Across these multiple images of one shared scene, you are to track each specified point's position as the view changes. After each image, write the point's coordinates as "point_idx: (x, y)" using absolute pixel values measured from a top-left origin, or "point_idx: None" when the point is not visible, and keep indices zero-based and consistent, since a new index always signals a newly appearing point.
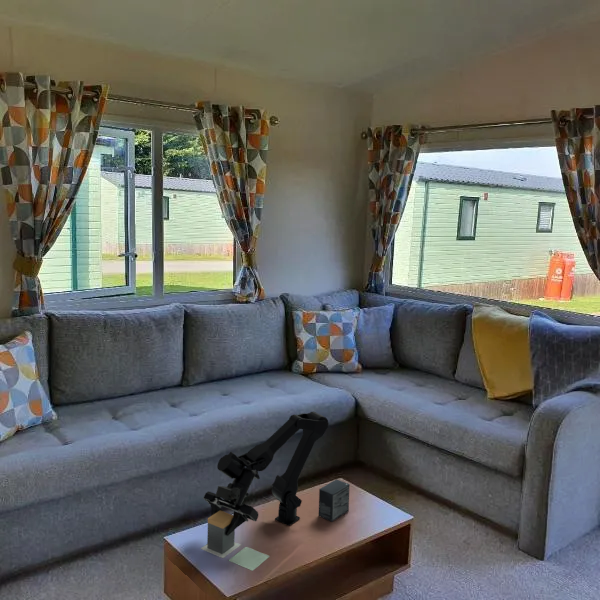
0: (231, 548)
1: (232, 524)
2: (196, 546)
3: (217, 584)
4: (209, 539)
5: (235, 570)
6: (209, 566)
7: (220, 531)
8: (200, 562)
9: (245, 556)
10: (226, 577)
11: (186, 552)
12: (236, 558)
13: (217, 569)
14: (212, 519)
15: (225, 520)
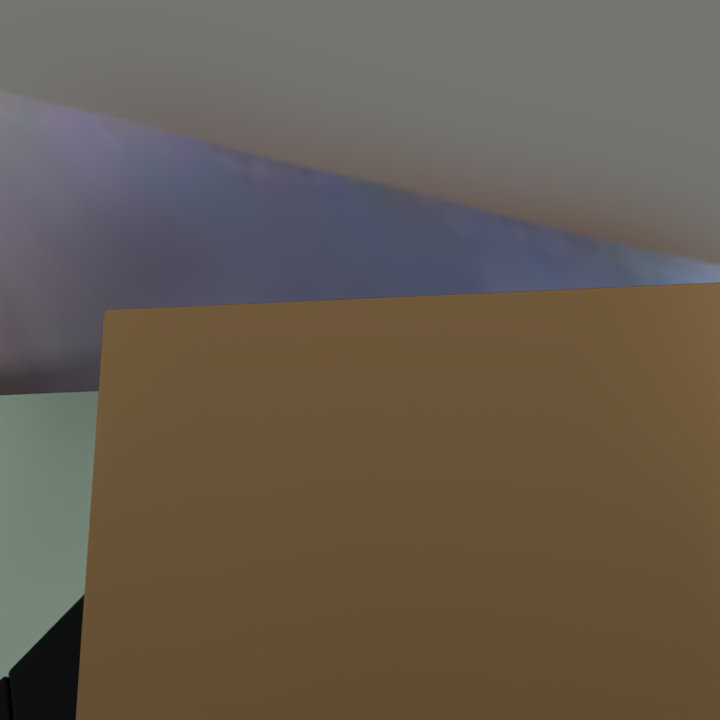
0: None
1: (6, 684)
2: None
3: (57, 105)
4: None
5: (25, 351)
6: (290, 247)
7: None
8: (408, 242)
9: (10, 580)
10: (42, 219)
11: (652, 279)
12: (85, 476)
13: (192, 258)
14: (616, 317)
15: (178, 566)
